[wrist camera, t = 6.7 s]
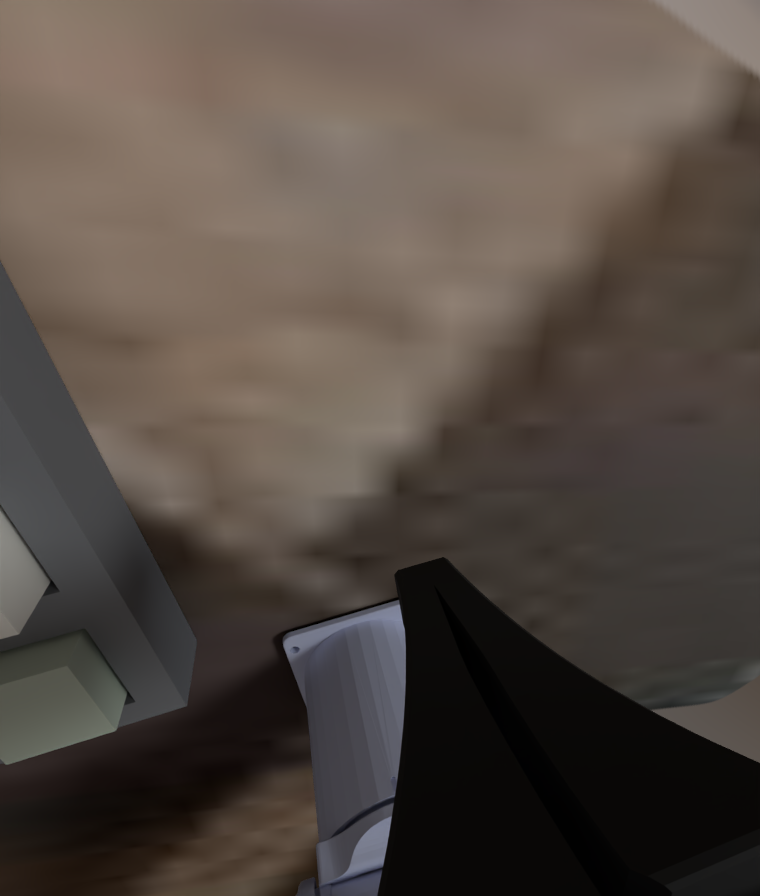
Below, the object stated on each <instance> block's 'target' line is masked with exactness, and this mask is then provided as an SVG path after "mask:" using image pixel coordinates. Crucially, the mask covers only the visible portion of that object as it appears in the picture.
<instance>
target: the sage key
mask: <svg viewBox="0 0 760 896" xmlns="http://www.w3.org/2000/svg"><path fill="white" fill-rule="evenodd" d="M127 692H128V690H127V689H126V687H125V686H124V684H123V683H122V681H121V680H120V678H119V677H118V676H117V674H116V673H115V671H114V670H113V668H112V667H111V665H110V664H109V662H108V661H107V659H106V658H105V657H104V655H103V654H102V652H101V651H100V649H99V648H98V646H97V645H96V643H95V642H94V640H93V639H92V638H91V636H90V635H89V633H88V632H87V630H86V629H85V628H84V629H81V630H77V631H74V632H70V633H66V634H63V635H59V636H56V637H52V638H48V639H45V640H41V641H38V642H34V643H30V644H27V645H23V646H20V647H16V648H13V649H9V650H5V651H2V652H0V759H1V760H2V761H3V762H4V763H5V764H6V765H8V764H11V763H14V762H18V761H21V760H24V759H27V758H30V757H34V756H37V755H40V754H43V753H46V752H50V751H53V750H56V749H59V748H62V747H66V746H69V745H72V744H75V743H79V742H82V741H85V740H88V739H91V738H95V737H98V736H101V735H104V734H107V733H111V732H114V731H116V730H117V727H118V723H119V720H120V716H121V713H122V709H123V706H124V703H125V699H126V696H127Z"/></svg>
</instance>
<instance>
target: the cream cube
mask: <svg viewBox="0 0 760 896" xmlns="http://www.w3.org/2000/svg"><path fill="white" fill-rule="evenodd" d="M51 580H52V579H51V578H50V576H49V575H48V573H47V572H46V570H45V569H44V567H43V566H42V565H41V563H40V562H39V560H38V559H37V557H36V556H35V554H34V553H33V551H32V550H31V548H30V547H29V546H28V544H27V543H26V541H25V540H24V538H23V537H22V535H21V534H20V532H19V531H18V529H17V528H16V527H15V525H14V524H13V522H12V521H11V519H10V518H9V516H8V515H7V513H6V512H5V510H4V509H3V508H2V506H1V505H0V639H3V638H7V637H10V636H14V635H18V634H20V632H21V630H22V629H23V627H24V625H25V624H26V622H27V620H28V619H29V617H30V615H31V614H32V612H33V610H34V609H35V607H36V605H37V604H38V602H39V600H40V599H41V597H42V595H43V594H44V592H45V590H46V589H47V587H48V585H49V584H50V582H51Z"/></svg>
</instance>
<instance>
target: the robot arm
mask: <svg viewBox="0 0 760 896" xmlns="http://www.w3.org/2000/svg"><path fill="white" fill-rule="evenodd" d="M394 576H395V582H396V587H397V593H398V598H399V600H396V601H393V602H390V603H386V604H383V605H380V606H376V607H373V608H369V609H366V610H363V611H359V612H356V613H353V614H349V615H346V616H343V617H339V618H336V619H333V620H329V621H326V622H322V623H319V624H316V625H312V626H309V627H306V628H302V629H299V630H296V631H292V632H289V633H287V634H286V635H285V636H284V637H283V647H284V650H285V653H286V655H287V658H288V660H289V663H290V666H291V668H292V671H293V673H294V676H295V679H296V681H297V684H298V687H299V689H300V692H301V694H302V697H303V700H304V702H305V705H306V707H307V715H308V726H309V737H310V747H311V758H312V769H313V780H314V791H315V802H316V813H317V824H318V835H319V843H317V845H316V854H317V865H318V877H319V888H317V886H316V881H315V877H313V878H310V879H307V880H304V881H302V882H301V883H300V885H299V888H298V894H296V896H760V763H759V762H756V761H754V760H752V759H749V758H747V757H745V756H743V755H741V754H739V753H736V752H734V751H732V750H730V749H727V748H725V747H723V746H721V745H719V744H716V743H714V742H712V741H710V740H708V739H706V738H704V737H702V736H699V735H697V734H695V733H693V732H691V731H689V730H687V729H685V728H683V727H682V726H680V725H677V724H676V723H674V722H672V721H670V720H668V719H666V718H664V717H662V716H660V715H658V714H656V713H654V712H653V711H651V710H649V709H647V708H646V707H644V706H642V705H640V704H638V703H637V702H635V701H633V700H631V699H630V698H628V697H626V696H624V695H623V694H621V693H619V692H617V691H615V690H614V689H612V688H610V687H608V686H607V685H605V684H603V683H602V682H600V681H599V680H597V679H595V678H594V677H592V676H591V675H589V674H587V673H586V672H584V671H583V670H581V669H579V668H578V667H577V666H575V665H574V664H572V663H571V662H569V661H568V660H566V659H565V658H563V657H562V656H560V655H559V654H557V653H556V652H554V651H553V650H552V649H550V648H549V647H547V646H546V645H545V644H543V643H542V642H541V641H539V640H538V639H537V638H535V637H534V636H533V635H531V634H530V633H529V632H527V631H526V630H525V629H524V628H522V627H521V626H520V625H519V624H517V623H516V622H515V621H514V620H512V619H511V618H510V617H509V616H508V615H506V614H505V613H504V612H503V611H502V610H500V609H499V608H498V607H497V606H496V605H495V604H493V603H492V602H491V601H490V600H489V599H488V598H487V597H485V596H484V595H483V594H482V593H481V592H480V591H479V590H478V589H477V588H476V587H475V586H474V585H473V584H471V583H470V582H469V581H468V580H467V579H466V578H465V577H464V576H463V575H462V574H461V573H460V572H459V571H458V570H457V569H456V568H455V567H454V566H453V565H452V564H451V562H450V561H449V560H448V559H446V558H444V557H442V558H439V559H435V560H432V561H428V562H425V563H421V564H418V565H414V566H411V567H408V568H404V569H401V570H398V571H397V572H396V573H395V575H394Z"/></svg>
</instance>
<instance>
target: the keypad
mask: <svg viewBox="0 0 760 896" xmlns="http://www.w3.org/2000/svg"><path fill="white" fill-rule="evenodd" d="M0 505H1V506H2V508H3V509H4V510H5V512H6V513H7V515H8V516H9V518H10V519H11V521H12V522H13V524H14V525H15V527H16V528H17V529H18V531H19V532H20V534H21V535H22V537H23V538H24V540H25V541H26V543H27V544H28V546H29V547H30V548H31V550H32V551H33V553H34V554H35V556H36V557H37V559H38V560H39V562H40V563H41V565H42V566H43V567H44V569H45V570H46V572H47V573H48V575H49V576H50V578H51V579H52V580H51V582H50V584H49V585H48V587H47V589H46V590H45V592H44V594H43V595H42V597H41V599H40V600H39V602H38V604H37V605H36V607H35V609H34V610H33V612H32V614H31V615H30V617H29V619H28V620H27V622H26V624H25V625H24V627H23V629H22V630H21V632H20V634H18V635H14V636H10V637H7V638H3V639H0V652H2V651H5V650H9V649H13V648H16V647H20V646H23V645H27V644H30V643H34V642H38V641H41V640H45V639H48V638H52V637H56V636H59V635H63V634H66V633H70V632H74V631H77V630H81V629H84V628H85V629H86V630H87V632H88V633H89V635H90V636H91V638H92V639H93V640H94V642H95V643H96V645H97V646H98V648H99V649H100V651H101V652H102V654H103V655H104V657H105V658H106V659H107V661H108V662H109V664H110V665H111V667H112V668H113V670H114V671H115V673H116V674H117V676H118V677H119V678H120V680H121V681H122V683H123V684H124V686H125V687H126V689H127V690H128V692H127V696H126V699H125V703H124V706H123V709H122V713H121V716H120V720H119V723H118V727H121V726H124V725H128V724H131V723H134V722H137V721H141V720H144V719H147V718H150V717H153V716H157V715H160V714H163V713H166V712H169V711H173V710H176V709H179V708H182V707H186V706H187V702H188V696H189V690H190V683H191V677H192V671H193V665H194V658H195V652H196V646H197V640H196V638H195V636H194V634H193V632H192V630H191V628H190V626H189V624H188V622H187V621H186V619H185V617H184V615H183V613H182V611H181V609H180V607H179V605H178V603H177V601H176V599H175V597H174V595H173V594H172V592H171V590H170V588H169V586H168V584H167V582H166V580H165V578H164V576H163V574H162V572H161V570H160V568H159V566H158V565H157V563H156V561H155V559H154V557H153V555H152V553H151V551H150V549H149V547H148V545H147V543H146V541H145V539H144V538H143V536H142V534H141V532H140V530H139V528H138V526H137V524H136V522H135V520H134V518H133V516H132V514H131V512H130V511H129V509H128V507H127V505H126V503H125V501H124V499H123V497H122V495H121V493H120V491H119V489H118V487H117V485H116V483H115V482H114V480H113V478H112V476H111V474H110V472H109V470H108V468H107V466H106V464H105V462H104V460H103V458H102V456H101V455H100V453H99V451H98V449H97V447H96V445H95V443H94V441H93V439H92V437H91V435H90V433H89V431H88V429H87V428H86V426H85V424H84V422H83V420H82V418H81V416H80V414H79V412H78V410H77V408H76V406H75V404H74V402H73V400H72V399H71V397H70V395H69V393H68V391H67V389H66V387H65V385H64V383H63V381H62V379H61V377H60V375H59V373H58V372H57V370H56V368H55V366H54V364H53V362H52V360H51V358H50V356H49V354H48V352H47V350H46V348H45V346H44V345H43V343H42V341H41V339H40V337H39V335H38V333H37V331H36V329H35V327H34V325H33V323H32V321H31V319H30V317H29V316H28V314H27V312H26V310H25V308H24V306H23V304H22V302H21V300H20V298H19V296H18V294H17V292H16V290H15V289H14V287H13V285H12V283H11V281H10V279H9V277H8V275H7V273H6V271H5V269H4V267H3V265H2V263H1V262H0ZM118 727H117V728H118ZM2 763H4V762H3V761H2V760H1V759H0V764H2Z"/></svg>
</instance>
